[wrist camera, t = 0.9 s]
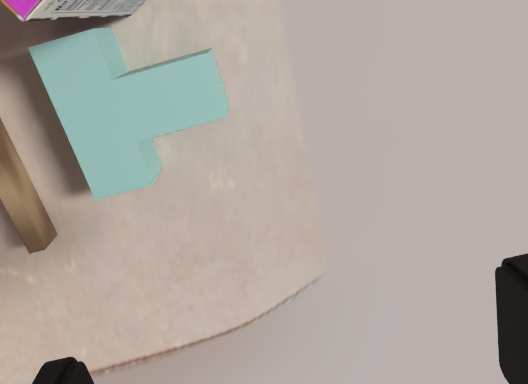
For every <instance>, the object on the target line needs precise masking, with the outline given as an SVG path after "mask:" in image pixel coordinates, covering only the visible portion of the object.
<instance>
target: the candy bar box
mask: <svg viewBox="0 0 528 384" xmlns="http://www.w3.org/2000/svg"><path fill="white" fill-rule="evenodd" d="M144 1H145V0H0V2H1V3H2V4H3V5H4V6H5V7H7V8H8V9H9V10H10V11H11V12H12V13H13V14H14V15H15V16H16V17H17V18H18V19H19V20H21V21H22V22H24V21H39V20H55V19H73V18H74V19H77V18H88V17H110V16H130V15H132V14H133V13H134V12H135V11H136V10H137V9H138V8H139V7H140V6H141V5H142V4H143V3H144Z"/></svg>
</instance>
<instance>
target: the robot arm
mask: <svg viewBox="0 0 528 384" xmlns="http://www.w3.org/2000/svg"><path fill="white" fill-rule="evenodd" d="M495 281H496V303H497V325H498V347H499V363H500V367H501V370H502V372H503V375H504V377H505V378H506V380H507V381H508V383H509V384H528V254H524V255H519V256H514V257H510V258H506V259H504V260H503V262H502V266H501V267H498V268H496V271H495ZM32 384H94V382H93V380H92V378H91V376H90V374H89V372H88V370H87V367H86V366H85V364H84V363H83V362H81V361H79V362H77V360H76V359H75V358H74V357H67V358H63V359H58V360H54V361H49V362H46V363H44V365H43V366H42V367H41V369H40V371H39V372H38V374H37V376H36V378H35V380H34V381H33V383H32Z"/></svg>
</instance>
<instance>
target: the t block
mask: <svg viewBox="0 0 528 384" xmlns="http://www.w3.org/2000/svg"><path fill="white" fill-rule="evenodd" d="M28 49H29V51H30V54H31V56H32V58H33V60H34V63H35V65H36V67H37V70H38V72H39V74H40V76H41V79H42V81H43V83H44V85H45V88H46V90H47V92H48V94H49V97H50V99H51V101H52V103H53V106H54V108H55V110H56V112H57V115H58V117H59V119H60V121H61V124H62V126H63V128H64V131H65V133H66V135H67V137H68V140H69V142H70V144H71V146H72V149H73V151H74V153H75V155H76V158H77V160H78V162H79V164H80V167H81V169H82V171H83V173H84V176H85V178H86V180H87V182H88V185H89V187H90V189H91V192H92V194H93V196H94V198H95V200H99V199H102V198H106V197H110V196H113V195H117V194H121V193H125V192H128V191H132V190H136V189H139V188H143V187H147V186H150V185H153V184H154V182H155V180H156V178H157V176H158V174H159V173H160V171H161V169H162V167H163V165H162V162H161V159H160V157H159V154H158V151H157V148H156V146H155V143H154V140H153V137H157V136H160V135H164V134H167V133H171V132H175V131H178V130H182V129H186V128H189V127H193V126H196V125H200V124H204V123H207V122H211V121H214V120H218V119H222V118H225V117H227V116H228V110H229V103H228V99H227V96H226V92H225V89H224V86H223V82H222V79H221V76H220V72H219V69H218V65H217V62H216V59H215V55H214V52H213V49H212V48H211V49H208V50H204V51H201V52H197V53H194V54H190V55H187V56H183V57H180V58H176V59H173V60H169V61H166V62H162V63H159V64H155V65H152V66H148V67H145V68H141V69H138V70H134V71H131V72H128V70H127V67H126V65H125V62H124V59H123V57H122V54H121V51H120V49H119V46H118V43H117V40H116V38H115V35H114V32H113V30H112V27H107V28H94V29H90V30H86V31H83V32H79V33H76V34H72V35H69V36H66V37H62V38H59V39H55V40H52V41H49V42H45V43H42V44H38V45H35V46H32V47H28Z"/></svg>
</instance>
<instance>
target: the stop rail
mask: <svg viewBox="0 0 528 384" xmlns="http://www.w3.org/2000/svg"><path fill="white" fill-rule="evenodd" d="M0 199H1V201H2V202H3V204H4V206H5V208H6V210H7V212H8V214H9V216H10V218H11V220H12V221H13V223H14V225H15V227H16V229H17V231H18V233H19V235H20V237H21V239H22V240H23V242H24V244H25V246H26V248H27V250H28V252H29V254H30V253H34V252H37V251H41V250H45V249H46V248H47V247H48V245H49V244H50V243H51V242H52V241H53V239H54V238H55V237H56V236H57V233H56V231H55V228H54V226H53V224H52V222H51V220H50V218H49V216H48V214H47V212H46V210H45V208H44V206H43V204H42V202H41V200H40V198H39V196H38V194H37V192H36V190H35V188H34V186H33V184H32V182H31V180H30V178H29V176H28V174H27V172H26V170H25V167H24V165H23V163H22V161H21V159H20V157H19V155H18V153H17V151H16V149H15V147H14V145H13V143H12V141H11V139H10V137H9V135H8V133H7V131H6V129H5V127H4V125H3V123H2V121H1V119H0Z"/></svg>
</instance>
